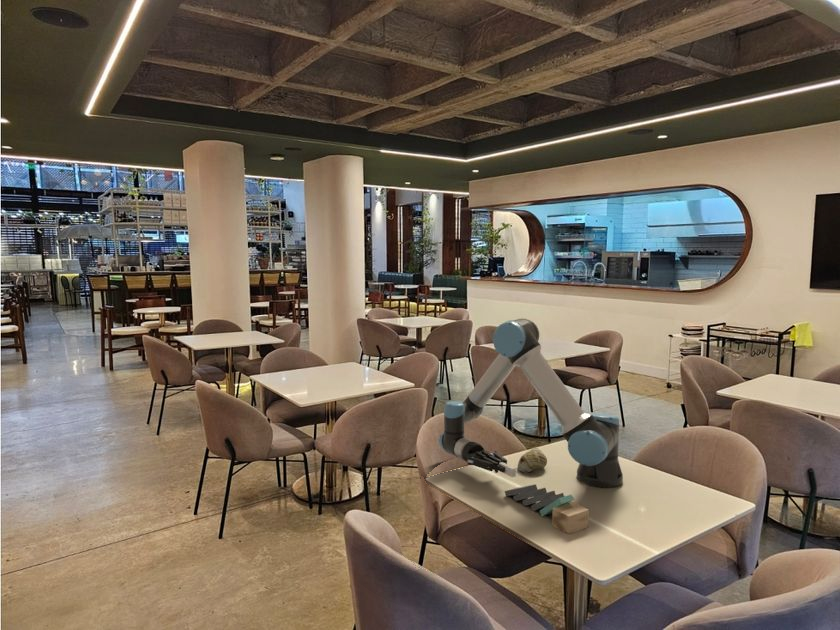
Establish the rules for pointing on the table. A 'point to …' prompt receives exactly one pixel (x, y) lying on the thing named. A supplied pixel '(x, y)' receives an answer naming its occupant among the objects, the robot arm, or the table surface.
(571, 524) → the stop block
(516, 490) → the domino
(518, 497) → the domino
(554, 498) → the domino
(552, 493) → the domino
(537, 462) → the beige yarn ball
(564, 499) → the domino
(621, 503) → the table surface
